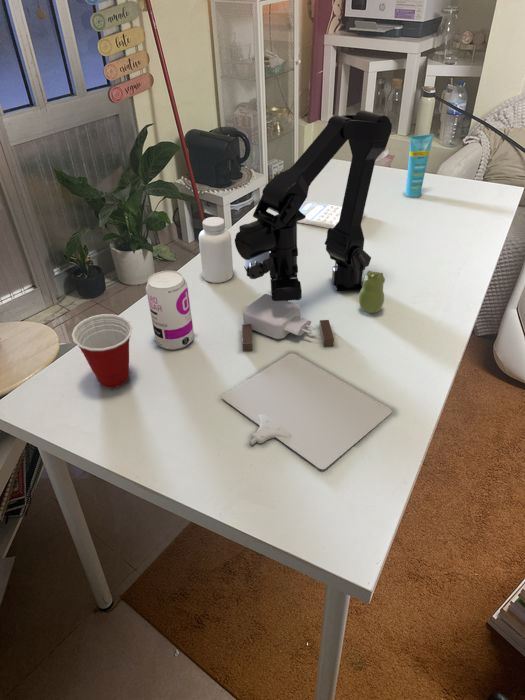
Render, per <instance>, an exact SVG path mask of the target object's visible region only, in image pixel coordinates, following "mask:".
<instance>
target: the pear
mask: <svg viewBox="0 0 525 700" xmlns="http://www.w3.org/2000/svg"><path fill="white" fill-rule="evenodd" d="M385 281H386V278H385V276H384V273H383V272H379V271H372V270H368V271H367V273H366V274H365V275H364V277H363V280H362V286H363V287H362V289H361V291H359V294H358V304H359V307H360V308H361V310H362V311H364V312H365V313H368V314H374V313H378V312H379V311H380V310H381V309H382V307H383V305H384V302H385V293H384V285H385Z"/></svg>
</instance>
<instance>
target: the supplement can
mask: <svg viewBox="0 0 525 700" xmlns="http://www.w3.org/2000/svg"><path fill="white" fill-rule="evenodd" d="M145 293H146V297H147V303H148V307H149V313H150V318H151V323H152V329H153V335H154V339H155V342H156V344H157V345H158V346H159V347H161V348H163V349H166V350H170V351H171V350H172V351H174V350H180V349H183V348H185V347H187V346H188V345H189V344H190V343H191V342H192V341H193V339H194V338H195V337H194V336H195V332H194V325H193V317H192V309H191V302H190V294H189V286H188V282H187V280H186V279H185V277H184V276H183V274H182V273H180V272H179V271H175V270H162V271H158V272H155V273H153V274H151V275H150V276H149V277H148V279H147V283H146V286H145Z"/></svg>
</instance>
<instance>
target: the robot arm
mask: <svg viewBox="0 0 525 700" xmlns="http://www.w3.org/2000/svg"><path fill="white" fill-rule="evenodd" d="M392 129H393V123H392V122H391V120H390V118H389V117H388V116H387V115H384V114H380V113H377V112H373V111H368V110H364V109H363V110H359V111H358V112H357V113H355V114H343V115H333V116H331V117H329V119H328V121H327V123H326V126H325V127H323V129H322V131H320V133H319V134H318V135H317V136H316V138H315V139H314V140H313V141H312V142H311V144H310V145H309V146H307V148H306V149H305V151H304V152H303V153H302V154H301V156H300V157H299V158H298V159H297V160H296V161H295V163H293V165H292V166H291V167H290V168H288V169H286V170H284V171H282V172H279V173H278V174H275V176H274V177H273V178H272V179H271V180H269V181H268V182H267V183H266V184H265V186H264V187H263V189H262V191H261V193H262V194H261V195H260V199H259V200H258V203H257V205H256V208H255V209H254V212H253V214H252V217H253V218H254V219H256V220H254V221H252V222H249V223H244V224H242V225H239V227H238V229H239V231H238V232H237V233H236V234H235V238H234V245H235V248H236V251H237V252H238V254H239V256H240V257H241V258H242V259H243V268H244V270H245V272H246V277H248V278H249V279H250V280H256V279H258V278H262V277H264V276H265V274H268V273H269V278H270V279H269V280H270V293H271V294H270V295H271V296H272V300H273V301H288V302H289V301H300V300H301V299H302V298H303V296H302V295H303V294H302V293H303V291H302V284H301V281H300V280H299V278H298V274H299V268H298V267H299V266H298V256H299V250H298V249H299V248H298V222H297V221H300V220H302V219H304V218H305V217H306V216H305V215H304V214H302V213H301V212H300V211H299V209H300V207H301V206H302V204H303V203H305V202H306V199H308V194H309V189H310V186H311V185H312V183H313V182H314V181H315V179H317V178H318V176H319V175H320V174H321V172H322V171H323V170H324V169H325V168H326V166H327V165H328V164H329V163H330V161H331V160H332V159H333V158H334V157H335V155H337V153H338V152H339V151H340V149H341V148H342V147H343V146H344V145H345V143H347V141H348V145H349V148H350V153H351V160H350V161H351V162H350V165H349V166H350V167H349V170H348V176H347V181H346V186H345V190H344V196H343V199H342V205H341V207H342V210H341V214H340V219H339V222H338V223H337V224H336V225H335V226H334V227H333V228H327V232H326V239H325V241H324V245H325V251H326V253H328V255H329V258H330V260H332V261H335V262H334V265H333V266H332V273H331V282H332V285H333V286H334V289H335V292H338V293H340V292H341V293H342V292H356V291H357V292H360V291H361V289H362V287H363V275H364V274H363V273H364V271H365V270H366V268H367V267H369V266H370V263H371V260H372V257H371V256H370V254H369V253H367V252H366V251H365V250H364V247H365V235H364V231H363V229H362V221H363V218H364V216H363V213H364V214H365V208H366V205H367V200H368V195H369V190H370V186H371V183H372V177H373V173H374V168H375V164H376V161H377V158H379V157H380V155H381V154H382V153H383V152H384V151H385V150H386V148H387V145H388V142H389V139H390V137H391V133H392ZM268 210H270V211H273V212H275V213H277V214H275V215H274V214H272V213H270V212H269V211H268ZM362 217H363V218H362Z"/></svg>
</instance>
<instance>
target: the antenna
mask: <svg viewBox="0 0 525 700" xmlns="http://www.w3.org/2000/svg"><path fill="white" fill-rule="evenodd" d="M221 399H222V400H223V401H224V402H226V403H227V404H229V405H230V406H231V407H233V408H234V409H236V410H237V411H238V412H240V413H241V414H243V415H244V416H246V417H247V418H248V419H250V420H251V421H252V422H253V423H255V424H256V425H258V428H257V430H255V431H254V432H253V433H252V434H251V437H252V439H250V440H249V444H250V445H251V446H253V445H255V444H256V443H258V444H263V443H265V442H267V441H268V440H271V439H277V440H279V441H280V442H281V443H283V444H285V445H286V446H287V447H288V448H290V449H291V450H292V451H294V452H295V453H296V454H298V455H299V456H301V457H302V458H304V459H305V460H306V461H308V462H309V463H310V464H312V465H313V466H315V467H316V468H318V470H326V469H327V468H328V467H330V466H331V465H332V464H333V463H334V462H335V461H337V460H338V459H339V458H340V457H341V456H343V454H345V453H346V452H347V451H348V450H350V449H351V448H352V447H353V446H354V445H356V444H357V443H358V442H359V441H361V440H362V439H363V438H364V437H365V436H366V435H368V433H370V432H371V431H372V430H373V429H375V428H376V427H377V426H378V425H380V424H381V423H382V422H383V421H384V420H386V419H387V417H389V416H390V415H391V414H392V413H393V411H392V409H391V408H389V407H388V406H387V405H384V404H382V403H381V402H379V401H377V400H376V399H374V398H372V397H370V396H369V395H367V394H366V393H364V392H362V391H361V390H358V389H357V388H355V387H353V386H351V385H349V384H348V383H346V382H345V381H342V380H341V379H339V378H338V377H335V376H334V375H333V374H331V373H329V372H327V371H325V370H323V369H321V368H320V367H318V366H317V365H315V364H313V363H311V362H310V361H307V359H304V358H303V357H301V356H299V355H298V354H296V353H291V352H290V353H289V354H287V355H285V356H283V357H282V358H281V359H279V360H277V361H275V362H274V363H272V364H271V365H269V366H267V367H266V368H264V369H263V370H261V371H260V372H258V373H256V374H255V375H253V376H251V377H250V378H248V379H247V380H245V381H243V382H242V383H241V384H240V383H239V385H237V386H235V387H234V388H232V389H230V390H229V391H227V392H225V393H224V394H223V395H222V396H221Z"/></svg>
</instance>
